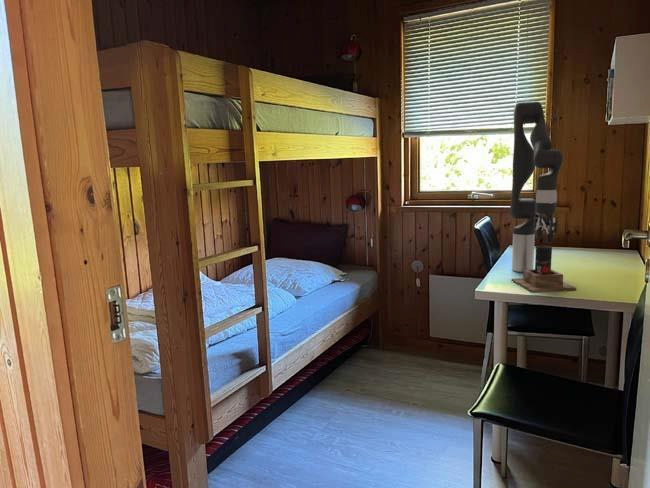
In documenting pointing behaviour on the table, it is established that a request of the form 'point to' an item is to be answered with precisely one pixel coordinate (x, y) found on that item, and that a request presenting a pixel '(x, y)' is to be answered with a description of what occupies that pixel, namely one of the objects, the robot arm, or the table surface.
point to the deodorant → (543, 260)
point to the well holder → (543, 282)
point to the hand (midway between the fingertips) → (544, 241)
